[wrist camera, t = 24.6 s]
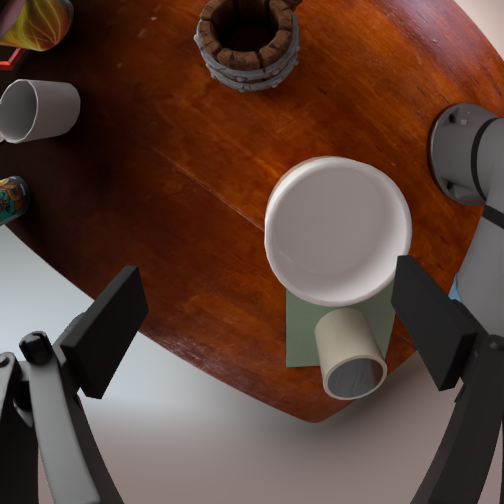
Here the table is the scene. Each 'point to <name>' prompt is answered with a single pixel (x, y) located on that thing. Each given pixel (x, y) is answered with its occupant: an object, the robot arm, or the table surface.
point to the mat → (308, 315)
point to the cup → (37, 110)
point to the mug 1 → (33, 25)
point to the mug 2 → (249, 41)
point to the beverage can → (13, 198)
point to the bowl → (336, 230)
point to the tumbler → (348, 355)
